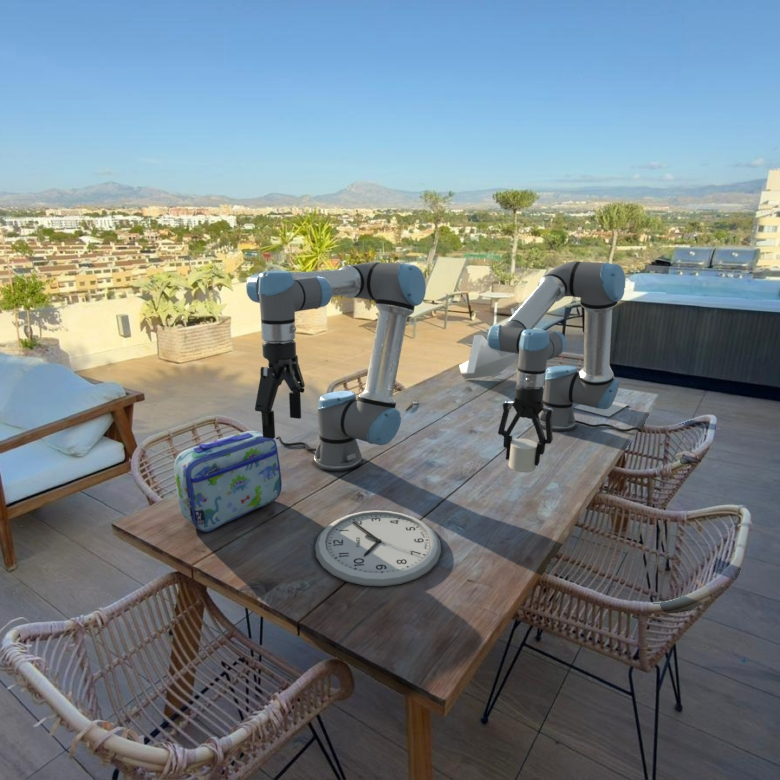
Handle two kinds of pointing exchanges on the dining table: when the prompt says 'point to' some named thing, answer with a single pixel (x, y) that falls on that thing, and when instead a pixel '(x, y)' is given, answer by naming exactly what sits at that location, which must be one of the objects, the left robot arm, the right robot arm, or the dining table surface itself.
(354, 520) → the wall clock
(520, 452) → the canister
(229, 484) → the lunch box
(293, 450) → the dining table surface
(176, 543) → the dining table surface
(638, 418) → the dining table surface
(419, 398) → the fork
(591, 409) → the invitation card
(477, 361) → the white plastic object
